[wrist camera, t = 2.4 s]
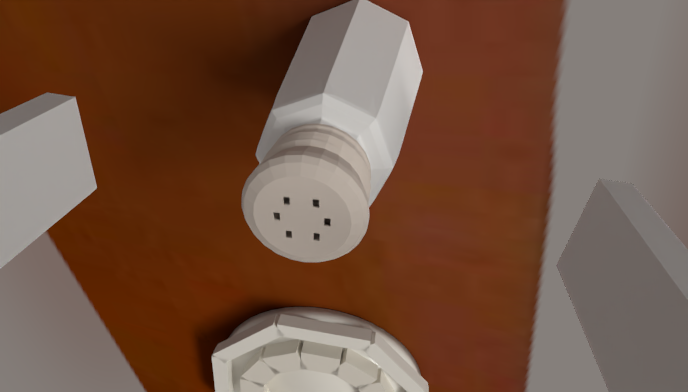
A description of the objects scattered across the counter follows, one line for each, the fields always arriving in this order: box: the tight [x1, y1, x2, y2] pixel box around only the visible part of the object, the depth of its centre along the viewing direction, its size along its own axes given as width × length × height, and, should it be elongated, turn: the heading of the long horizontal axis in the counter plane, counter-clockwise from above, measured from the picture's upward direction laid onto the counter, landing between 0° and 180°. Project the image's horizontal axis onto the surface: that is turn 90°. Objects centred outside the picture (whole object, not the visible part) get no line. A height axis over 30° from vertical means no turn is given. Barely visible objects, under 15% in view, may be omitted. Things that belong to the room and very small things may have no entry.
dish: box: [212, 307, 429, 392], centre depth 30 cm, size 14×14×2 cm
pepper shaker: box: [242, 0, 423, 262], centre depth 14 cm, size 5×5×11 cm
